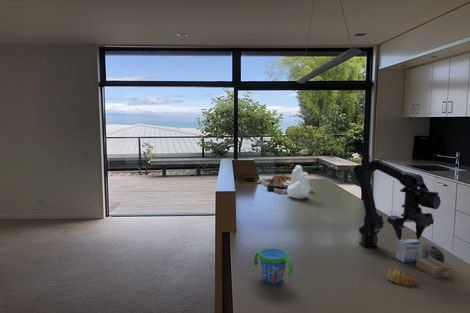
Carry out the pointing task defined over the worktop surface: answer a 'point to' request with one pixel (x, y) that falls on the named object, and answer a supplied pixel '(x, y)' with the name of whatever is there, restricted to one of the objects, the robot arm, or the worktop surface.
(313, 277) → the worktop surface
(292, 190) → the decorative rooster
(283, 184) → the food platter
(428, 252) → the perforated stone tool
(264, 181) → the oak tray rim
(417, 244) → the medicine box
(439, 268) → the walnut pedestal block
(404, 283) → the pastry
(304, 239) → the worktop surface
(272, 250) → the snack cup
